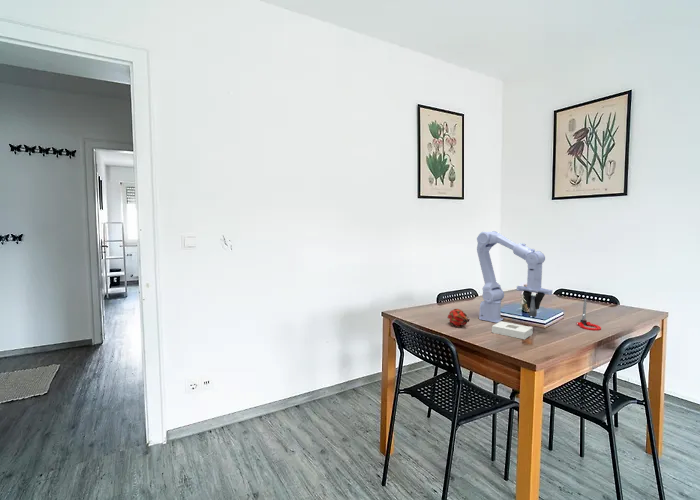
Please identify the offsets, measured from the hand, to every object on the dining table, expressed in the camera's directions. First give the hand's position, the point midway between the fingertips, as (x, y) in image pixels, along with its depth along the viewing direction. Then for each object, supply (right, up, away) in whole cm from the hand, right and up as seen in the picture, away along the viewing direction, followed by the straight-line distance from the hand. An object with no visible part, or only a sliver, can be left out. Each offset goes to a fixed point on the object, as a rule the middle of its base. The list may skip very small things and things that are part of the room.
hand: (533, 308), depth 169 cm
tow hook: (+28, -10, +4) cm, 30 cm away
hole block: (-11, -11, -4) cm, 16 cm away
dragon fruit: (-31, -10, +9) cm, 34 cm away
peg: (0, -4, 0) cm, 3 cm away
